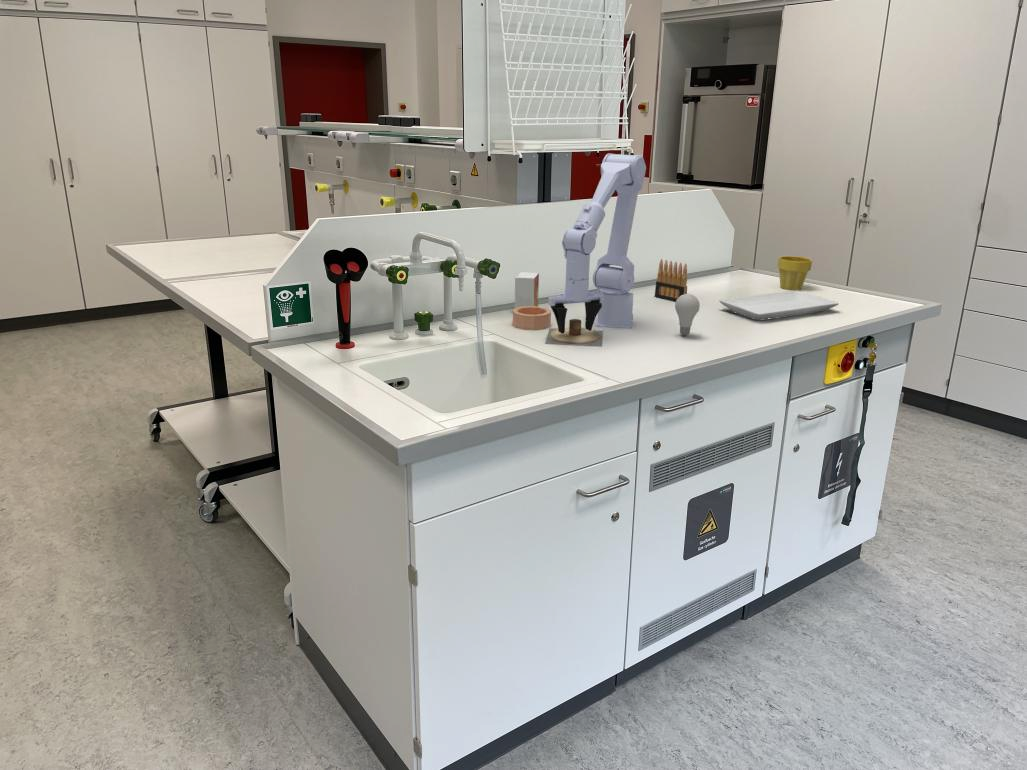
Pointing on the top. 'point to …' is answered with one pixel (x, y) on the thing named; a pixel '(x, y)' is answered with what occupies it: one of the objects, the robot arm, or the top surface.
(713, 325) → the top surface
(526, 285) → the small box
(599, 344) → the mat
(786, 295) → the tray
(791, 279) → the plant pot
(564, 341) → the lid
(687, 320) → the lightbulb
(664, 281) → the ammunition clip
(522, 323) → the bowl
